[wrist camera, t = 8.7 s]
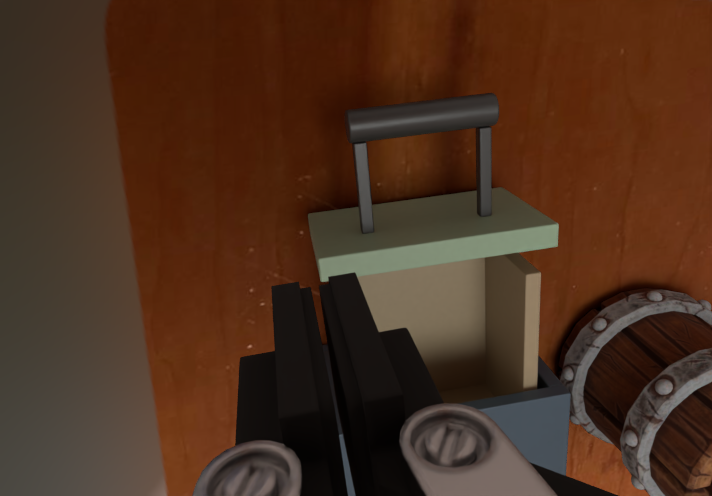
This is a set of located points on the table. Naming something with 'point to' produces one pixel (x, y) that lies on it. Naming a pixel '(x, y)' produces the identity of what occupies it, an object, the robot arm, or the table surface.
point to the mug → (647, 386)
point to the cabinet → (514, 420)
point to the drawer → (444, 257)
